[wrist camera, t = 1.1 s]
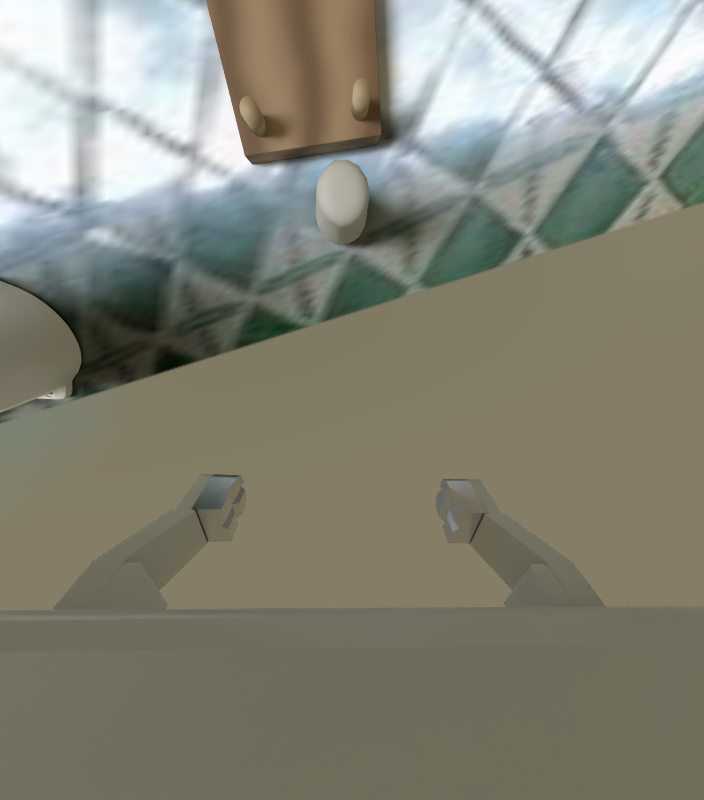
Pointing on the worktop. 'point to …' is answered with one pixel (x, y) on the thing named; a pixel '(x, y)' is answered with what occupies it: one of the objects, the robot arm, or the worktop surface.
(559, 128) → the worktop surface
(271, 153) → the peg stand
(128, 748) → the robot arm
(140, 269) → the worktop surface
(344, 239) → the salt shaker
